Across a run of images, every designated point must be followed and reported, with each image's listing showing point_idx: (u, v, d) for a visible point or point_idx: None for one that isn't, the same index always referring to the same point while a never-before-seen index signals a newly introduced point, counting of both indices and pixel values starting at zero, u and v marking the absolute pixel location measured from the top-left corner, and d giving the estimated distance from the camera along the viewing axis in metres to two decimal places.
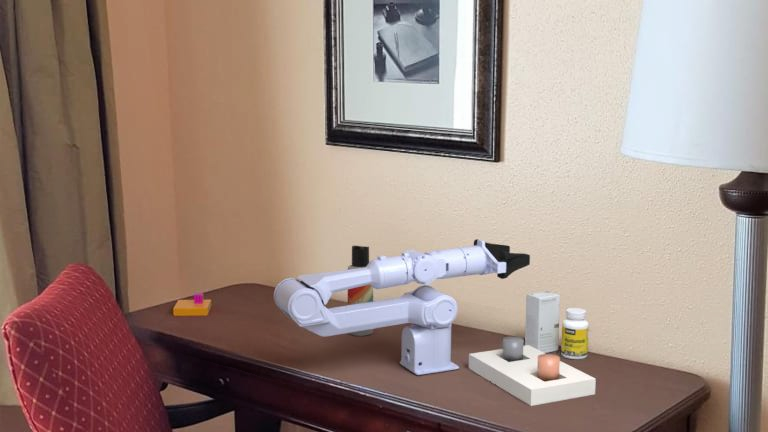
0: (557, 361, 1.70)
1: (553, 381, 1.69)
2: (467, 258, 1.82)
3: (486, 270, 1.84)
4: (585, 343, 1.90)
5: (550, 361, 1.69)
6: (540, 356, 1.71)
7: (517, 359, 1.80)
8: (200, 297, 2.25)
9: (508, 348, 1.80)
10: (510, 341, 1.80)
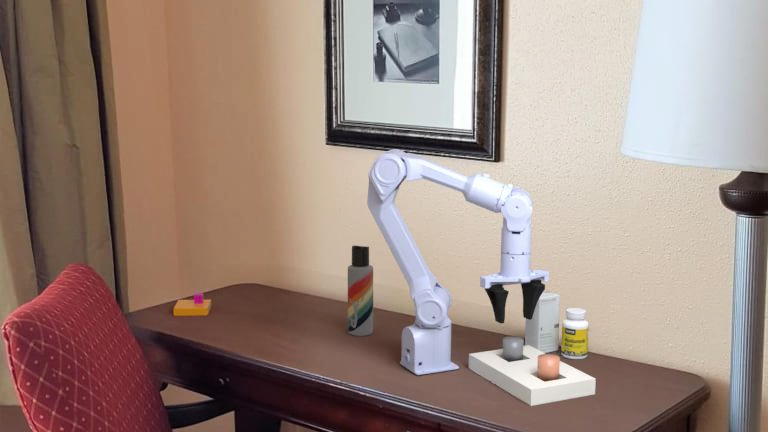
0: (557, 361, 1.70)
1: (553, 381, 1.69)
2: (508, 256, 1.77)
3: (499, 274, 1.80)
4: (585, 343, 1.90)
5: (550, 361, 1.69)
6: (540, 356, 1.71)
7: (517, 359, 1.80)
8: (200, 297, 2.25)
9: (508, 348, 1.80)
10: (510, 341, 1.80)
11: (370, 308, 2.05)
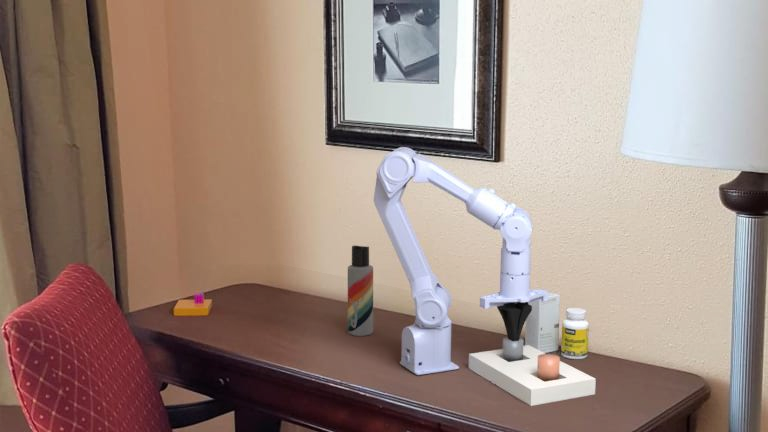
0: (557, 361, 1.70)
1: (553, 381, 1.69)
2: (507, 276, 1.77)
3: (498, 294, 1.80)
4: (585, 343, 1.90)
5: (550, 361, 1.69)
6: (540, 356, 1.71)
7: (517, 359, 1.80)
8: (200, 297, 2.25)
9: (508, 348, 1.80)
10: (510, 341, 1.80)
11: (370, 308, 2.05)
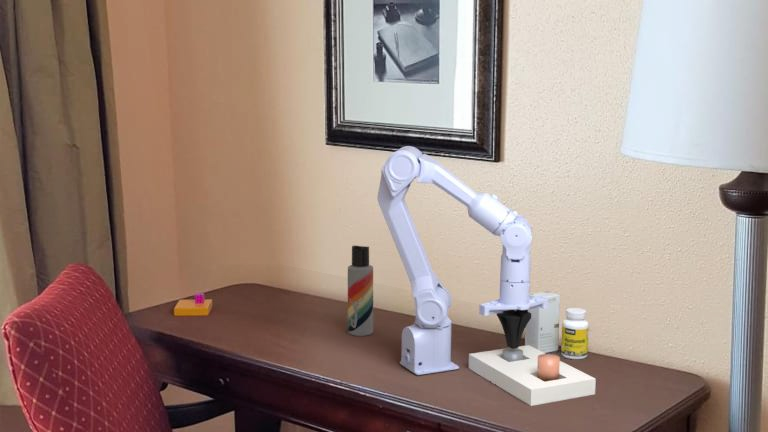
0: (557, 361, 1.70)
1: (553, 381, 1.69)
2: (507, 283, 1.77)
3: (498, 301, 1.81)
4: (585, 343, 1.90)
5: (550, 361, 1.69)
6: (540, 356, 1.71)
7: None
8: (201, 297, 2.25)
9: (508, 360, 1.81)
10: (510, 353, 1.81)
11: (370, 308, 2.05)
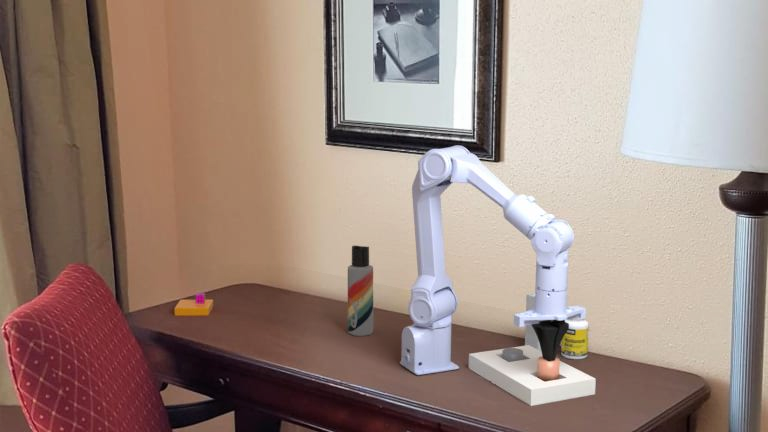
0: (557, 363, 1.70)
1: (553, 381, 1.69)
2: (543, 292, 1.67)
3: (533, 311, 1.70)
4: (585, 343, 1.90)
5: (550, 363, 1.69)
6: (540, 358, 1.71)
7: None
8: (202, 297, 2.25)
9: (508, 360, 1.81)
10: (510, 353, 1.81)
11: (370, 308, 2.05)
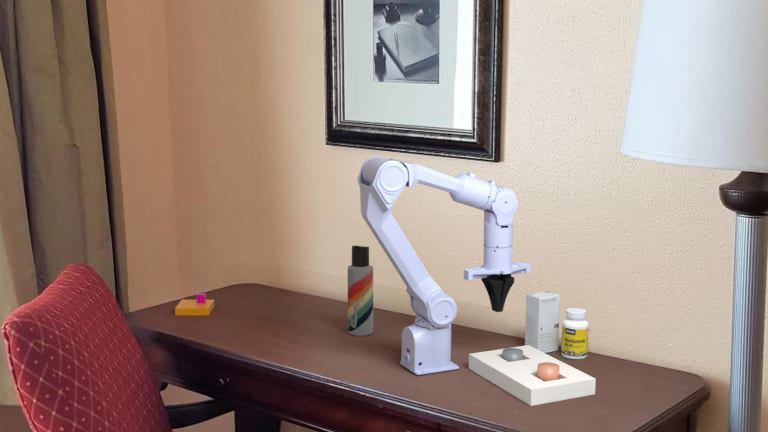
0: (557, 370, 1.70)
1: (553, 381, 1.69)
2: (490, 249, 1.84)
3: (482, 267, 1.87)
4: (585, 343, 1.90)
5: (550, 370, 1.69)
6: (540, 365, 1.72)
7: None
8: (202, 297, 2.25)
9: (508, 360, 1.81)
10: (510, 353, 1.81)
11: (370, 308, 2.05)
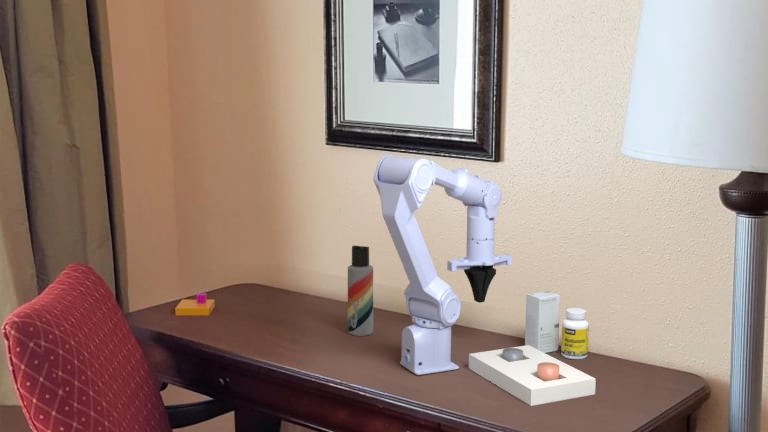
0: (557, 370, 1.70)
1: (553, 381, 1.69)
2: (473, 241, 1.90)
3: (465, 259, 1.94)
4: (585, 343, 1.90)
5: (550, 370, 1.69)
6: (540, 365, 1.72)
7: None
8: (203, 297, 2.25)
9: (508, 360, 1.81)
10: (510, 353, 1.81)
11: (370, 308, 2.05)
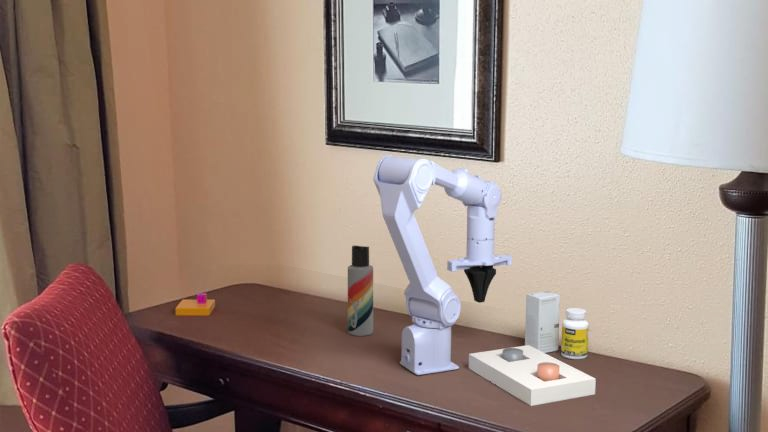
0: (557, 370, 1.70)
1: (553, 381, 1.69)
2: (473, 241, 1.90)
3: (465, 259, 1.94)
4: (585, 343, 1.90)
5: (550, 370, 1.69)
6: (540, 365, 1.72)
7: None
8: (203, 297, 2.25)
9: (508, 360, 1.81)
10: (510, 353, 1.81)
11: (370, 308, 2.05)
